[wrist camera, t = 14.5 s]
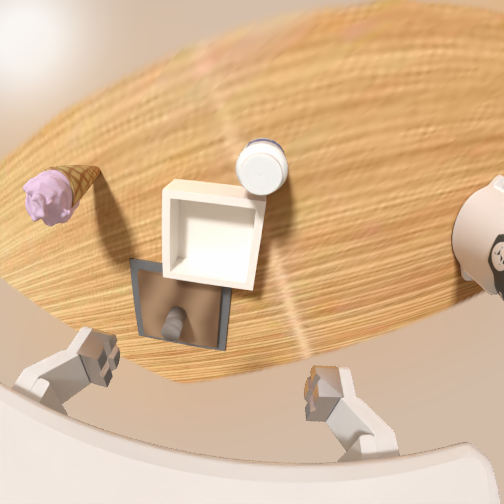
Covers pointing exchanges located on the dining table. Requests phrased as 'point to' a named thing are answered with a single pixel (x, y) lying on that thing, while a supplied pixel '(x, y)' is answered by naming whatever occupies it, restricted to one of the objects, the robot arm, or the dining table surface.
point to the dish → (211, 233)
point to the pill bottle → (262, 166)
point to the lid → (179, 309)
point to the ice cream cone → (58, 192)
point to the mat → (158, 267)
